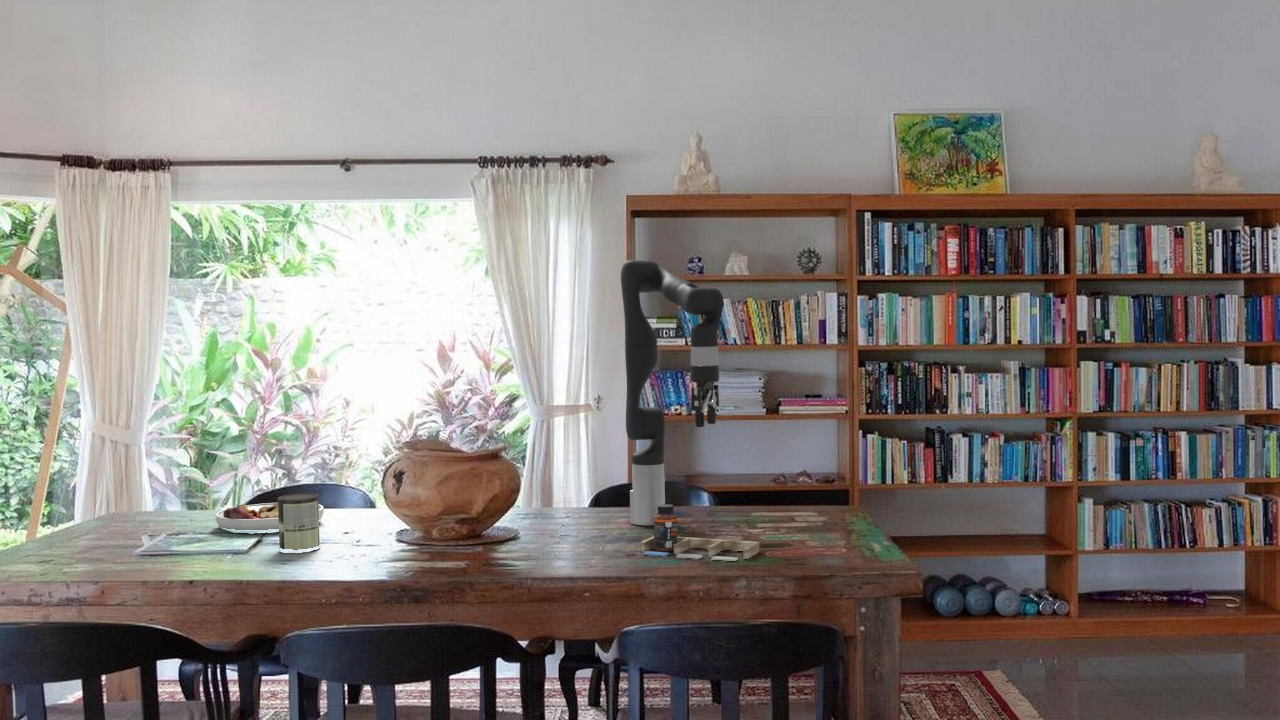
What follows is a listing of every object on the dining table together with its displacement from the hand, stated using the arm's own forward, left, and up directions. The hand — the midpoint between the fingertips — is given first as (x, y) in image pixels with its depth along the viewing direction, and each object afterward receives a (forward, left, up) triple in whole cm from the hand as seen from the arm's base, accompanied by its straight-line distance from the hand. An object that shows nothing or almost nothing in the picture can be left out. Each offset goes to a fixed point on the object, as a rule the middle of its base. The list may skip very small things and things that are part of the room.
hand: (705, 425), depth 286 cm
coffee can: (-96, -47, -30) cm, 111 cm away
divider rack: (+4, -17, -30) cm, 35 cm away
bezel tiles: (+4, -23, -30) cm, 38 cm away
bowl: (-129, -22, -31) cm, 134 cm away
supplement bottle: (-5, -17, -30) cm, 35 cm away
